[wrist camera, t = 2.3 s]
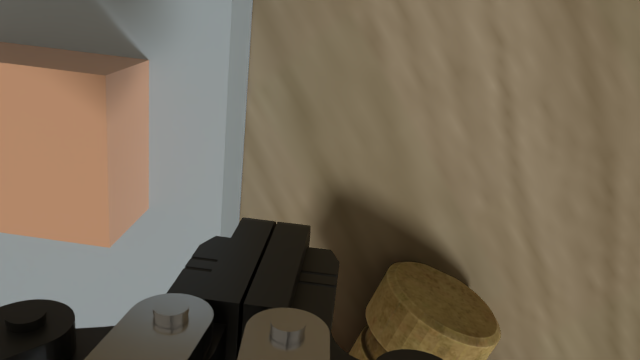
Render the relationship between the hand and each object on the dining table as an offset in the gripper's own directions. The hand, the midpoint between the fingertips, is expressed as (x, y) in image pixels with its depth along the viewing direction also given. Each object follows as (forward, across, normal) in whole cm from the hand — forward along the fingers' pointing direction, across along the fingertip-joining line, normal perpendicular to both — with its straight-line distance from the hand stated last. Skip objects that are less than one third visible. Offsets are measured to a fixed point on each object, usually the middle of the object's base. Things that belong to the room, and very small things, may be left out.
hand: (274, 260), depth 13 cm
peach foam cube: (+6, +8, -1) cm, 10 cm away
